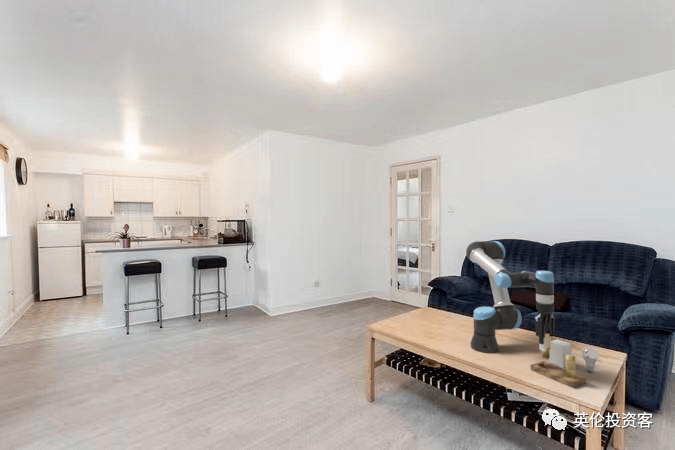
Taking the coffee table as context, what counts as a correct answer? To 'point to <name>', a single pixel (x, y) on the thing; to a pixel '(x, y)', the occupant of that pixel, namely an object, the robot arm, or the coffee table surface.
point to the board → (561, 372)
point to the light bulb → (590, 358)
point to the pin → (546, 353)
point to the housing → (559, 352)
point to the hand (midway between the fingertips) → (545, 349)
